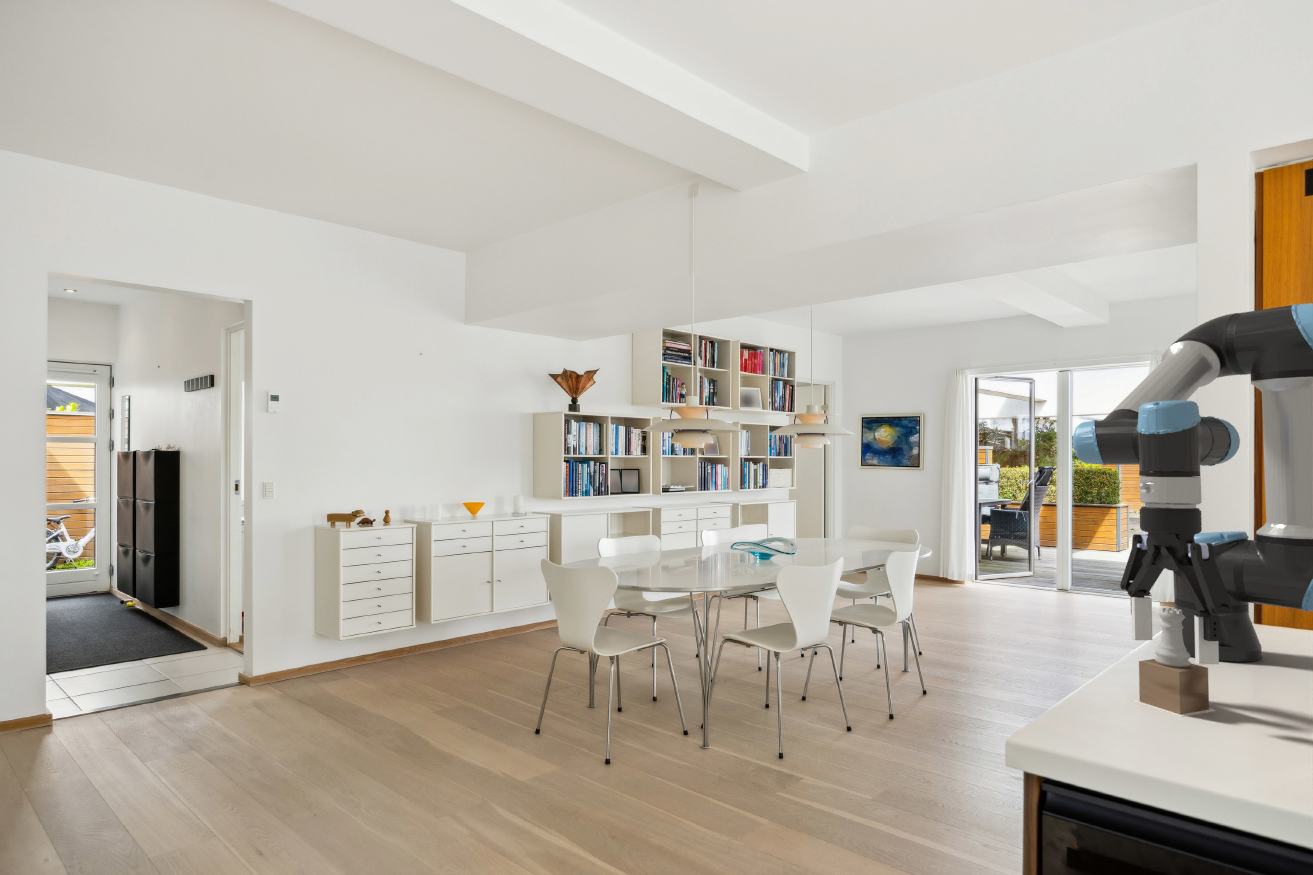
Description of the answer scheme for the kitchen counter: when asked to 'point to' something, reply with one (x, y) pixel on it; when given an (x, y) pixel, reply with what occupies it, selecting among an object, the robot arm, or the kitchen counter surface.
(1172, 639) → the rook chess piece
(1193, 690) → the walnut cube
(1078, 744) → the kitchen counter surface
